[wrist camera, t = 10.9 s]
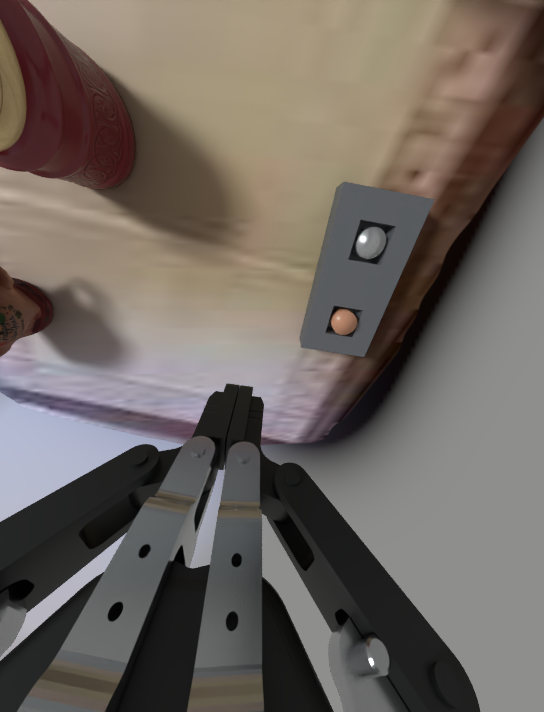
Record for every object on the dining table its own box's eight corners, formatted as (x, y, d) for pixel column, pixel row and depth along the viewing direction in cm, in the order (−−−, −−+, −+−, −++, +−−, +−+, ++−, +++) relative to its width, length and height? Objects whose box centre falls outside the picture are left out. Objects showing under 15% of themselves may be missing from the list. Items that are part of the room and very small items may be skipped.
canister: (111, 41, 24) (-182, -289, 9) (153, 186, 30) (27, 141, 15) (7, 58, 25) (-426, -218, 10) (69, 195, 31) (-129, 161, 16)
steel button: (355, 225, 31) (362, 224, 29) (381, 229, 31) (390, 229, 29) (346, 254, 33) (352, 256, 31) (371, 258, 33) (378, 261, 31)
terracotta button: (332, 305, 37) (336, 310, 34) (355, 308, 37) (360, 314, 34) (326, 326, 39) (329, 333, 36) (347, 329, 39) (352, 336, 36)
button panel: (336, 187, 30) (344, 181, 26) (416, 203, 30) (434, 199, 27) (299, 337, 42) (301, 347, 39) (357, 346, 43) (364, 357, 39)
